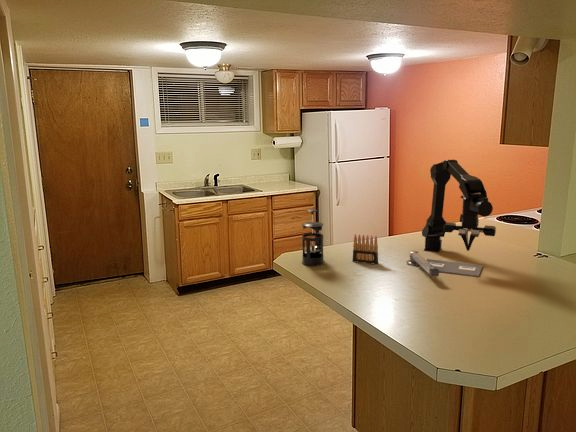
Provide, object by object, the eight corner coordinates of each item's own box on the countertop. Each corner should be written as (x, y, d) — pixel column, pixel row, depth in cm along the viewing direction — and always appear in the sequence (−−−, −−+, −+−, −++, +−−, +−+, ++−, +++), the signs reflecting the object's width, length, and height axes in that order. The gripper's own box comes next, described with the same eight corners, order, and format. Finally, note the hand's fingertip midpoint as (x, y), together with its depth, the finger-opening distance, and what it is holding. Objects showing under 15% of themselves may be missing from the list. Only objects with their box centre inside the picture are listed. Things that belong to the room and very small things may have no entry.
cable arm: (408, 255, 197) (408, 250, 196) (416, 255, 197) (417, 250, 196) (430, 276, 171) (430, 270, 170) (439, 276, 171) (440, 270, 171)
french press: (317, 267, 193) (317, 213, 188) (297, 264, 198) (296, 211, 193) (329, 259, 203) (328, 207, 198) (309, 257, 208) (308, 206, 203)
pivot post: (404, 264, 194) (404, 258, 194) (408, 260, 199) (408, 254, 199) (419, 266, 191) (419, 260, 191) (422, 262, 197) (422, 256, 196)
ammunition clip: (352, 261, 200) (352, 234, 198) (353, 260, 202) (353, 233, 200) (377, 264, 196) (377, 236, 193) (378, 262, 198) (378, 235, 195)
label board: (419, 269, 188) (419, 267, 187) (427, 260, 200) (427, 258, 199) (478, 277, 177) (478, 275, 177) (482, 266, 190) (482, 264, 189)
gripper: (498, 209, 184) (495, 247, 187) (448, 206, 192) (446, 243, 195) (495, 214, 174) (493, 255, 177) (443, 211, 183) (442, 249, 186)
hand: (468, 250), depth 184 cm, fingers closed
